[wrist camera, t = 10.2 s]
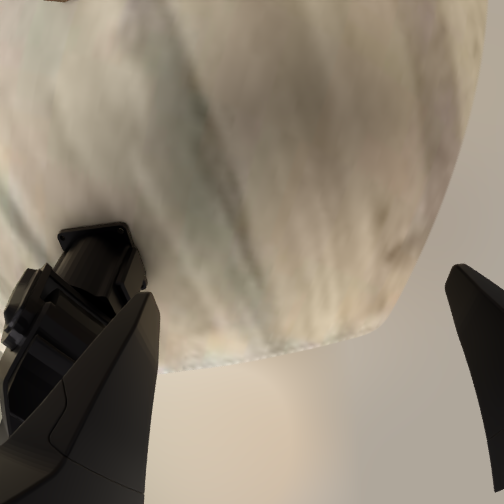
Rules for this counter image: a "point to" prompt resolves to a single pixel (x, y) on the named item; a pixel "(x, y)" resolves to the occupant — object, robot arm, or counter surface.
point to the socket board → (57, 0)
